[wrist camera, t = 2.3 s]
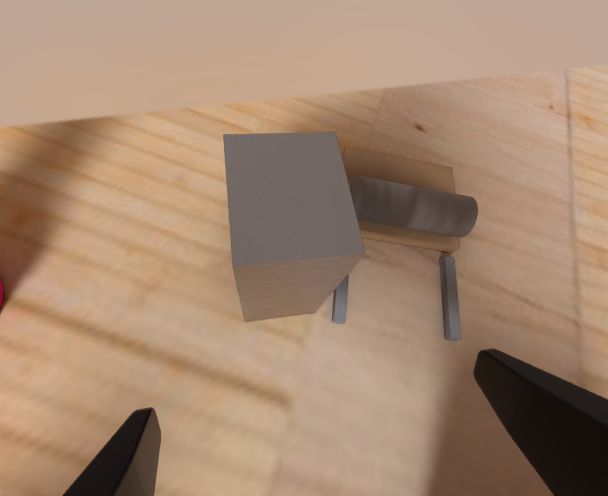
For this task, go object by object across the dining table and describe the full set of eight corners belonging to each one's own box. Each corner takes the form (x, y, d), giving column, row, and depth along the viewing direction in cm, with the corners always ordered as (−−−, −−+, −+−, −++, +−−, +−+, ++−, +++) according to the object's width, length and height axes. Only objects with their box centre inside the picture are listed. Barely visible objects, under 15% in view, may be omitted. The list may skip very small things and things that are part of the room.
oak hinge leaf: (458, 340, 23) (501, 332, 19) (327, 321, 22) (343, 308, 18) (444, 175, 29) (474, 143, 25) (342, 155, 28) (356, 118, 24)
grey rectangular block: (314, 313, 22) (365, 253, 12) (244, 322, 21) (232, 266, 11) (302, 238, 25) (335, 132, 14) (238, 243, 24) (223, 134, 13)
